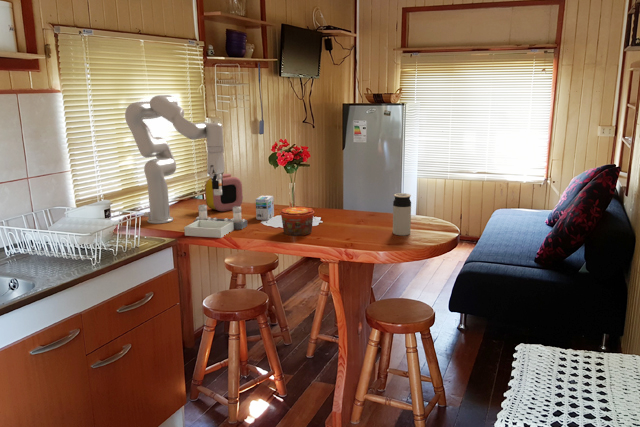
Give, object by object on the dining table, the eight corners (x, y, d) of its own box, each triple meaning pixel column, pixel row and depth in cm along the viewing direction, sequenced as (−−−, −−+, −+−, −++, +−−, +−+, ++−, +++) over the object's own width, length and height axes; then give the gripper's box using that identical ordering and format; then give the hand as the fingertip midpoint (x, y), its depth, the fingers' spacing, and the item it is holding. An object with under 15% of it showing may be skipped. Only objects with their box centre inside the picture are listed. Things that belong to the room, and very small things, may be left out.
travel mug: (397, 236, 242) (397, 197, 238) (389, 232, 249) (390, 193, 245) (413, 235, 244) (414, 195, 240) (405, 230, 252) (406, 192, 248)
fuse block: (193, 226, 263) (193, 218, 262) (200, 223, 270) (199, 215, 269) (241, 229, 257) (241, 221, 256) (247, 225, 264) (247, 217, 263)
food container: (277, 236, 244) (276, 213, 242) (284, 227, 260) (283, 205, 257) (312, 237, 242) (311, 214, 240) (317, 228, 257) (316, 206, 255)
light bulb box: (268, 220, 275) (267, 199, 272) (255, 219, 276) (255, 199, 274) (274, 215, 285) (273, 195, 283) (262, 215, 286) (261, 195, 284)
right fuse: (232, 228, 260) (231, 207, 258) (235, 226, 264) (234, 206, 261) (240, 228, 259) (239, 208, 257) (243, 226, 263) (242, 206, 260)
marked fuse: (212, 195, 258) (211, 174, 255) (215, 193, 261) (214, 173, 259) (220, 195, 257) (219, 174, 254) (223, 194, 260) (222, 173, 258)
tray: (184, 235, 248) (184, 227, 247) (199, 228, 261) (198, 219, 260) (221, 237, 243) (220, 229, 242) (233, 229, 257) (233, 221, 256)
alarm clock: (215, 213, 291) (213, 177, 286) (204, 210, 299) (202, 175, 294) (244, 208, 303) (242, 174, 299) (233, 205, 311) (231, 171, 306)
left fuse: (198, 226, 264) (196, 206, 262) (201, 224, 268) (200, 204, 266) (205, 226, 263) (204, 206, 261) (209, 224, 267) (208, 204, 265)
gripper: (215, 147, 263) (217, 185, 267) (200, 151, 247) (202, 191, 251) (230, 148, 261) (231, 185, 265) (215, 152, 245) (217, 191, 250)
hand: (217, 187), depth 258 cm, fingers closed on marked fuse, 3 cm apart
